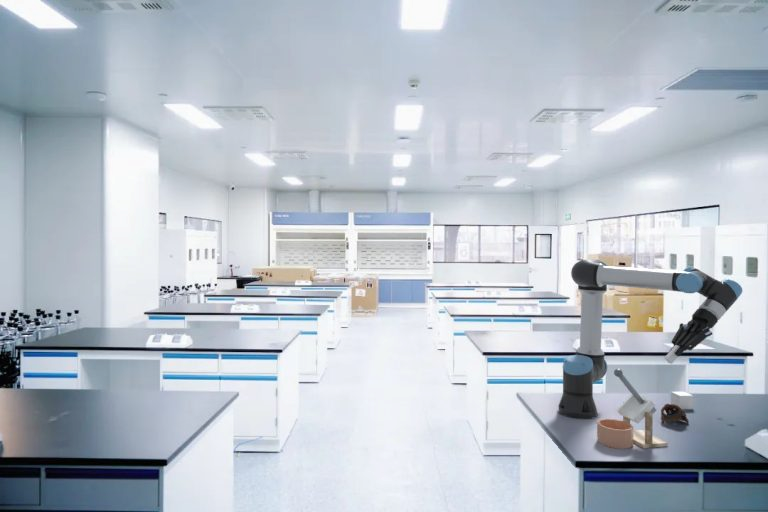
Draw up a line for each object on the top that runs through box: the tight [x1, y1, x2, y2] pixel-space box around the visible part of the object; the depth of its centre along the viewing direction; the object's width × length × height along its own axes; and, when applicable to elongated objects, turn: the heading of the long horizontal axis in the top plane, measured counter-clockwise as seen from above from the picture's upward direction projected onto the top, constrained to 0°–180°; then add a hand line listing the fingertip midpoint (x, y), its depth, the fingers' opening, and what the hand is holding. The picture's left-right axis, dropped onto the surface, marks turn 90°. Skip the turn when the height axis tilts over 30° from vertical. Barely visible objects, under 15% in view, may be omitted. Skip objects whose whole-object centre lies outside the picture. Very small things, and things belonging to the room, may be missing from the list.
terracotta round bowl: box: [596, 418, 634, 450], centre depth 170 cm, size 11×11×6 cm
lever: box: [613, 368, 657, 424], centre depth 171 cm, size 9×9×20 cm
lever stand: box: [622, 401, 668, 449], centre depth 172 cm, size 10×12×12 cm
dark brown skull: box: [660, 403, 690, 425], centre depth 191 cm, size 12×10×8 cm
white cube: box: [670, 391, 694, 410], centre depth 210 cm, size 6×6×6 cm
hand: (668, 360), depth 174 cm, fingers closed
